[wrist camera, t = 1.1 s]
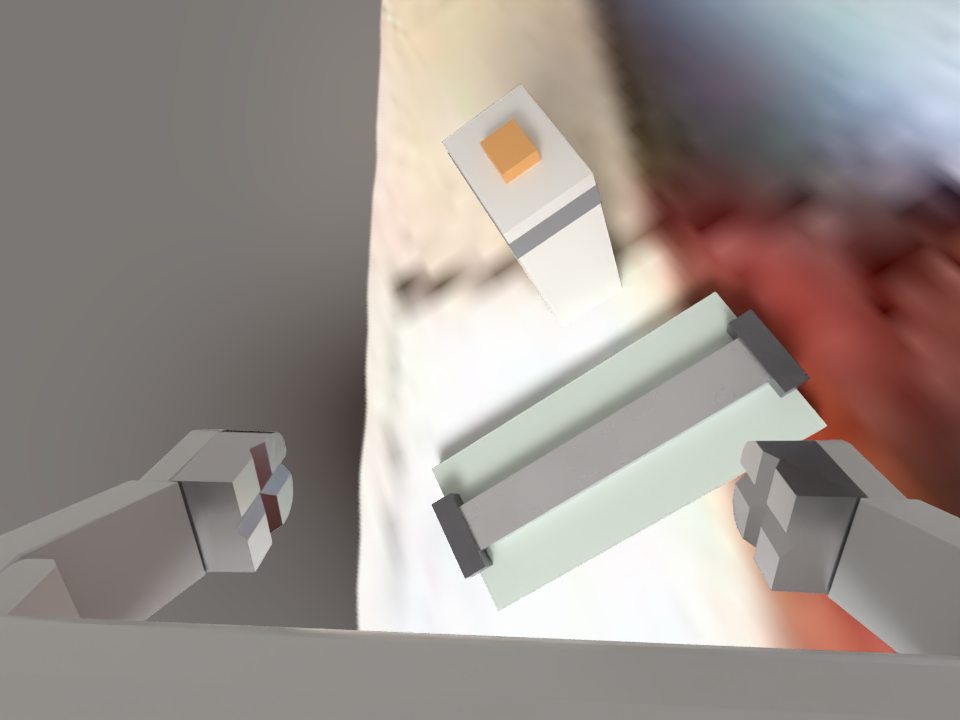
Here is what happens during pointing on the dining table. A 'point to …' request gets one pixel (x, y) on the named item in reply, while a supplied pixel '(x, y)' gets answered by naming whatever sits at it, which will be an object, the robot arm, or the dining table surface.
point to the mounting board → (638, 488)
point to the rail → (619, 441)
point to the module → (539, 202)
